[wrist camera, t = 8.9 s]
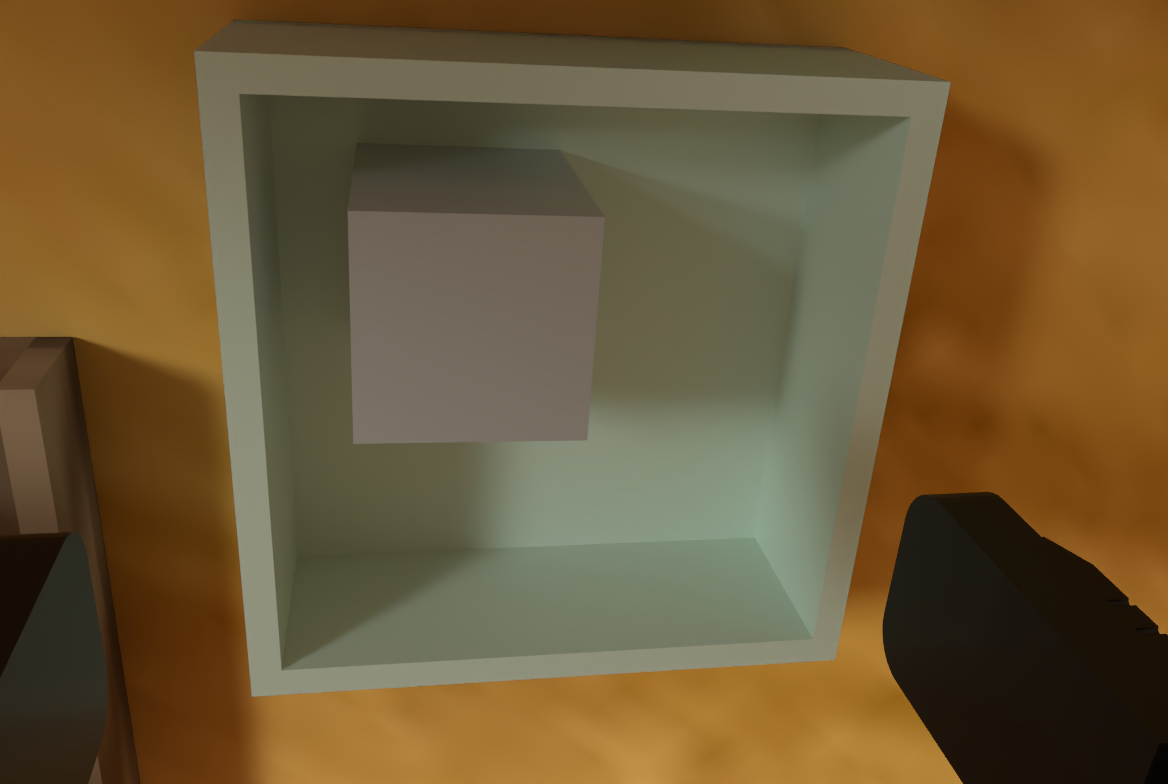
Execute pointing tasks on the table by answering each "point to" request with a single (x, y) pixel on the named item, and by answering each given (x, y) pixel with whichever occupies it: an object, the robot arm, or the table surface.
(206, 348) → the table surface
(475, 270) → the stone
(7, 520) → the tray
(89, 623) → the robot arm
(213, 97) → the dump tub
